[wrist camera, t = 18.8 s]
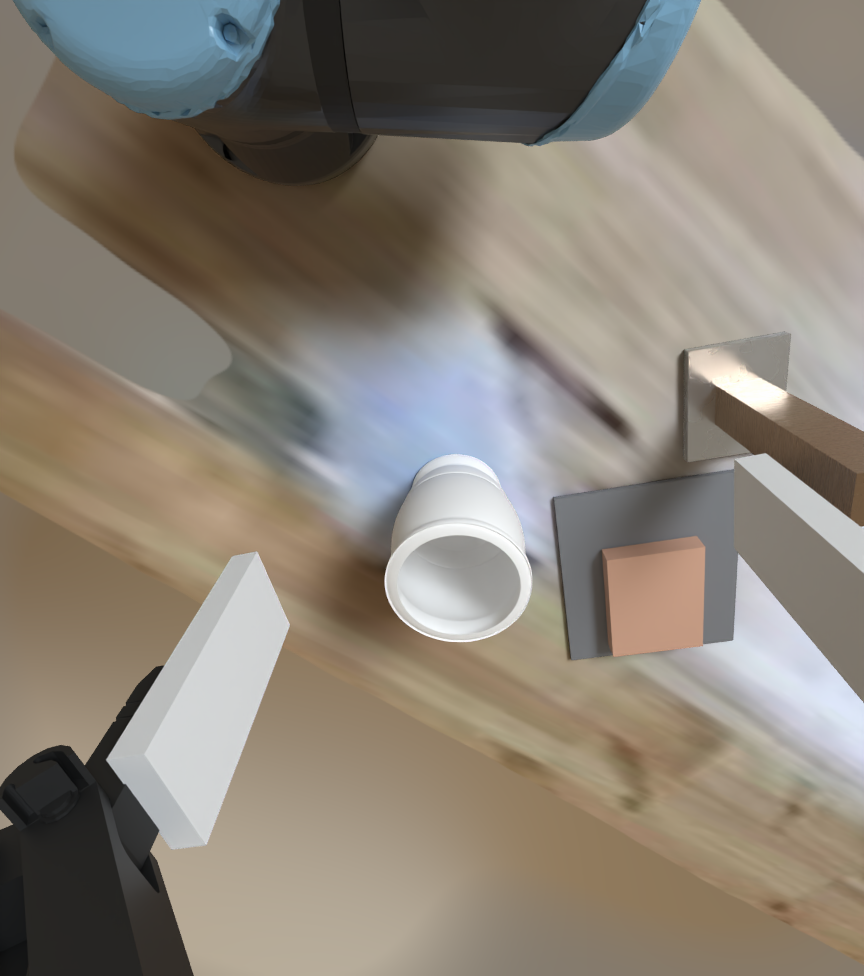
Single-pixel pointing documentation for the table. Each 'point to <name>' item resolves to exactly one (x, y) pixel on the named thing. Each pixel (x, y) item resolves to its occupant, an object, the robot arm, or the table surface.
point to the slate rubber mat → (639, 520)
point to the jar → (458, 554)
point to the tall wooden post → (769, 419)
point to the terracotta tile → (654, 595)
